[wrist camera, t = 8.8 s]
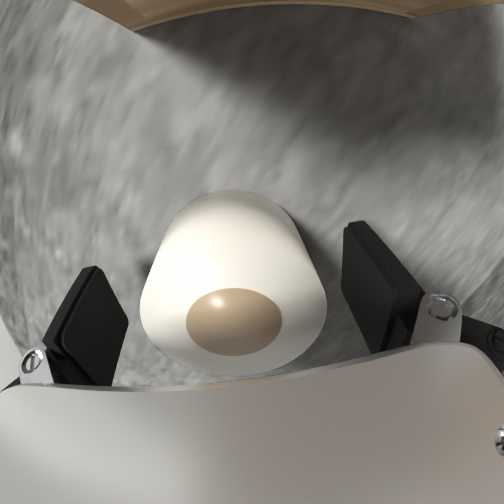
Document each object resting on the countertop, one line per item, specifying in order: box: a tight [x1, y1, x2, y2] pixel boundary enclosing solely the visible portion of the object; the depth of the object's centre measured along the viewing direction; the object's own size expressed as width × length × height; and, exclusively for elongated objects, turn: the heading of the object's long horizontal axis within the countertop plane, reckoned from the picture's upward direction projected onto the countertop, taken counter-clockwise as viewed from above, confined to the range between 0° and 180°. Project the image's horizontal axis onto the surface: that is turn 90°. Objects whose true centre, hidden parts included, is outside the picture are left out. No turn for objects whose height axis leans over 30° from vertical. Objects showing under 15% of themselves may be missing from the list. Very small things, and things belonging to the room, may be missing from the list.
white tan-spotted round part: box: [140, 190, 327, 376], centre depth 10 cm, size 6×6×4 cm
